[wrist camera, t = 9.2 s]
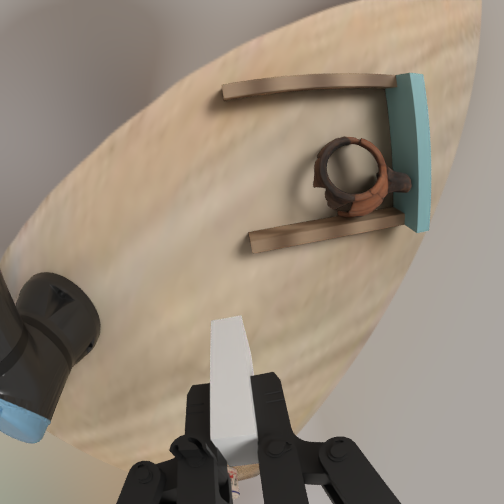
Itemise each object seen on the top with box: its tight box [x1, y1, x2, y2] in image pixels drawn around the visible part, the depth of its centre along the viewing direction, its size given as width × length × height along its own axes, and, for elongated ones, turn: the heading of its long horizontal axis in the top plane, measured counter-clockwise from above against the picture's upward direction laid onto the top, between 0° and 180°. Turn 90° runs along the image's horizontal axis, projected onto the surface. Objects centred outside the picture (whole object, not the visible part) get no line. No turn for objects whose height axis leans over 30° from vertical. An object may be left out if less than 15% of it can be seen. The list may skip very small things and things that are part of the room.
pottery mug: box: [313, 137, 412, 217], centre depth 31 cm, size 12×10×8 cm
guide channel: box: [222, 73, 405, 253], centre depth 31 cm, size 20×19×3 cm
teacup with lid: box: [227, 466, 240, 499], centre depth 59 cm, size 12×9×12 cm
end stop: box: [385, 73, 431, 233], centre depth 30 cm, size 2×19×6 cm, turn 9°
